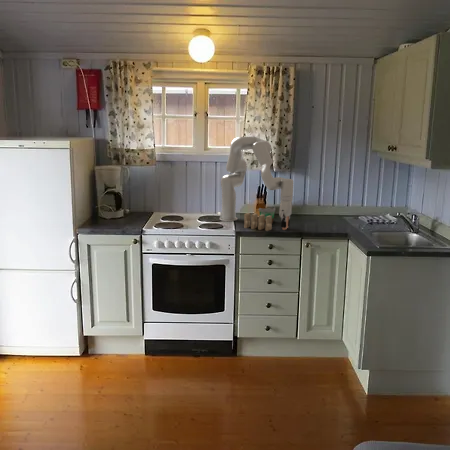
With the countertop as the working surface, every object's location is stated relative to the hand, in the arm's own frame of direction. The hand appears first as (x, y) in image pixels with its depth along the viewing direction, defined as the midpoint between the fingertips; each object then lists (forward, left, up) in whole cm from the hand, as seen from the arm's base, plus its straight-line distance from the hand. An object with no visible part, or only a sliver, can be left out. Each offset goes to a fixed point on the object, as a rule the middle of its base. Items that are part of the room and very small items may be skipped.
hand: (285, 226), depth 301 cm
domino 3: (-13, -8, -2) cm, 15 cm away
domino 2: (-18, -8, -2) cm, 20 cm away
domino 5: (0, 0, -2) cm, 2 cm away
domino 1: (-23, -8, -2) cm, 25 cm away
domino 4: (-8, -8, -2) cm, 12 cm away
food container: (-17, +12, -2) cm, 21 cm away
